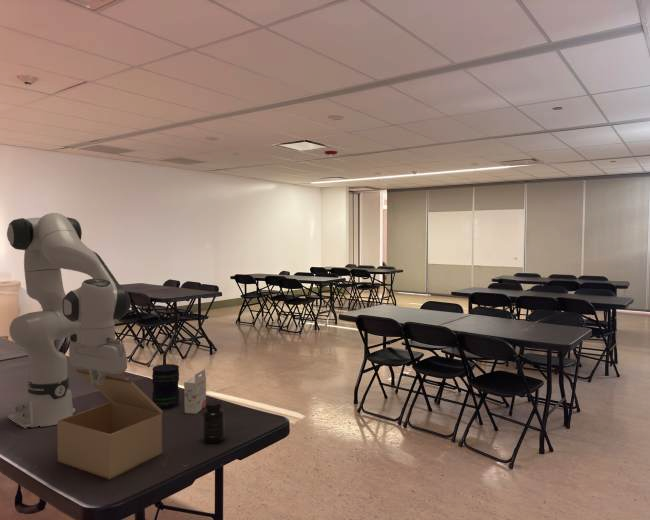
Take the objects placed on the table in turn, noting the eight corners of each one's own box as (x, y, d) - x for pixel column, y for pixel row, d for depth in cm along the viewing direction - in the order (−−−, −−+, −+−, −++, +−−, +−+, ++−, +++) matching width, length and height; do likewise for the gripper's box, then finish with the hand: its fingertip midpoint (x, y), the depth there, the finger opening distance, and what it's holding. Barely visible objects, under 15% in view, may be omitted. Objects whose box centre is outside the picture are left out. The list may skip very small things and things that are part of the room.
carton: (57, 461, 135) (57, 420, 134) (111, 438, 151) (111, 401, 150) (110, 479, 125) (110, 435, 124) (162, 453, 141) (161, 413, 141)
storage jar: (148, 410, 177) (148, 370, 177) (157, 401, 187) (157, 364, 187) (174, 410, 177) (174, 370, 177) (182, 401, 187) (182, 364, 187)
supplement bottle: (204, 435, 154) (204, 399, 154) (225, 434, 155) (225, 398, 154) (200, 444, 147) (200, 406, 147) (222, 443, 148) (222, 406, 148)
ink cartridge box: (194, 405, 183) (194, 367, 182) (206, 406, 182) (206, 368, 181) (183, 413, 174) (183, 373, 174) (196, 414, 173) (196, 374, 173)
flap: (75, 369, 139) (76, 368, 139) (111, 401, 150) (112, 399, 151) (127, 380, 129) (129, 378, 130) (161, 413, 141) (163, 411, 141)
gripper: (132, 338, 131) (132, 387, 131) (84, 331, 140) (84, 377, 141) (113, 342, 125) (113, 393, 126) (64, 334, 135) (64, 382, 135)
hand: (97, 385), depth 133 cm, fingers closed, pressing on flap
